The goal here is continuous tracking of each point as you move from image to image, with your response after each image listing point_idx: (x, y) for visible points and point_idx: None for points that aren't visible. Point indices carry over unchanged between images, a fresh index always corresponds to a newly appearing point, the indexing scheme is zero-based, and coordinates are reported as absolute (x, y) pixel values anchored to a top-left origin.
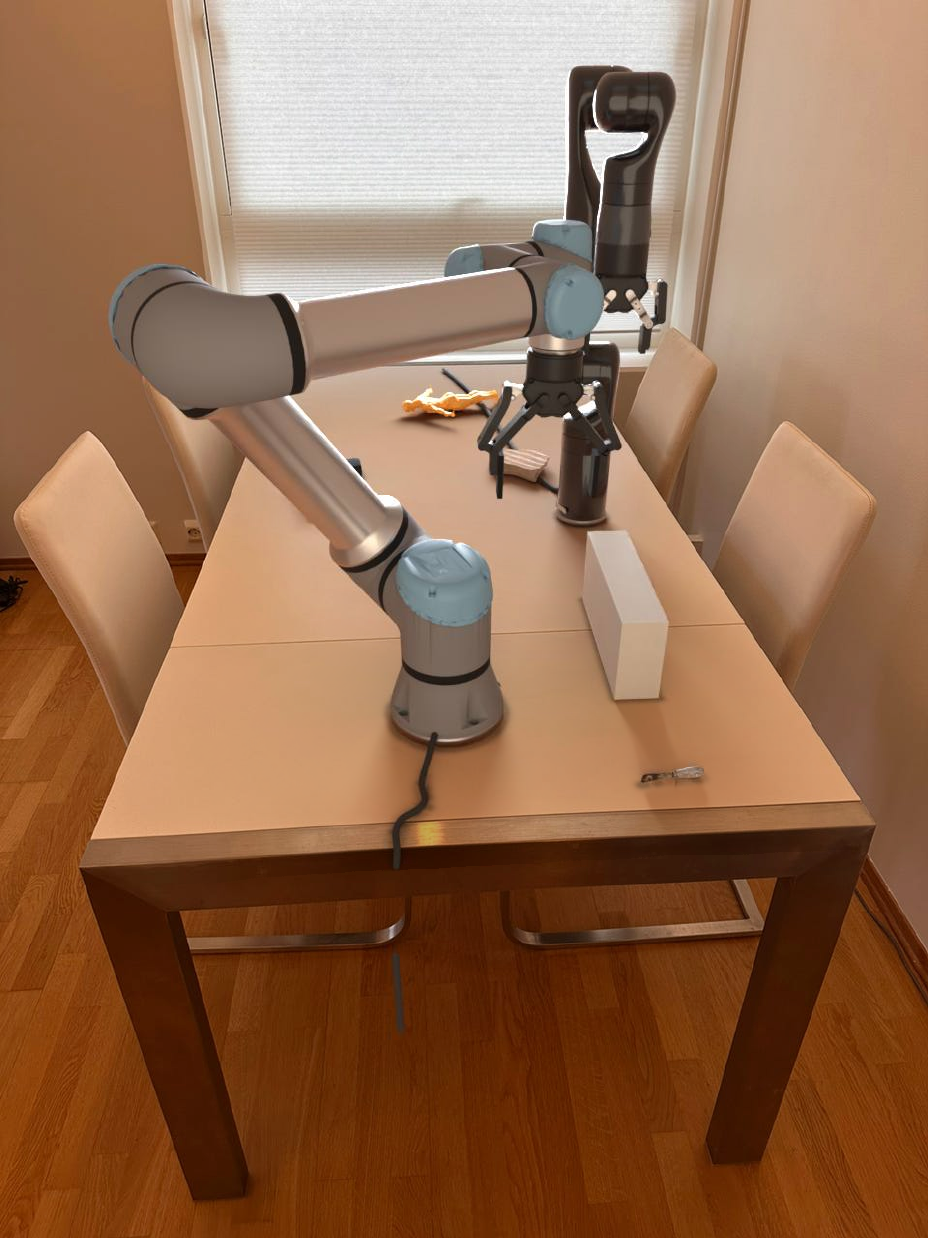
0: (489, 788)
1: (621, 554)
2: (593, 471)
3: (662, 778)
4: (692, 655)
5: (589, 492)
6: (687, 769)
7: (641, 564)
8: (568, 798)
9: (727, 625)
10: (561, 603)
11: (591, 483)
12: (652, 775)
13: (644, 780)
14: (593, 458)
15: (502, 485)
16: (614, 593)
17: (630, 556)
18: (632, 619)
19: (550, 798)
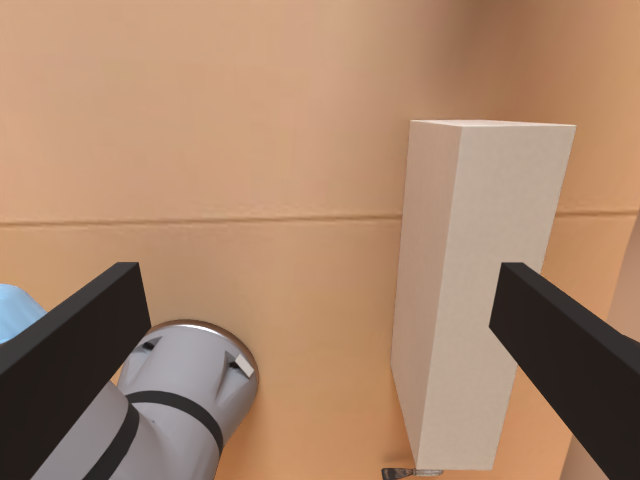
0: (245, 462)
1: (504, 260)
2: (560, 416)
3: (402, 468)
4: None
5: (499, 297)
6: (427, 475)
7: None
8: (313, 474)
9: (622, 216)
10: (369, 130)
11: (521, 347)
12: (393, 476)
13: (385, 471)
14: (620, 448)
15: (119, 363)
16: (432, 398)
17: None
18: (436, 462)
19: (298, 473)
